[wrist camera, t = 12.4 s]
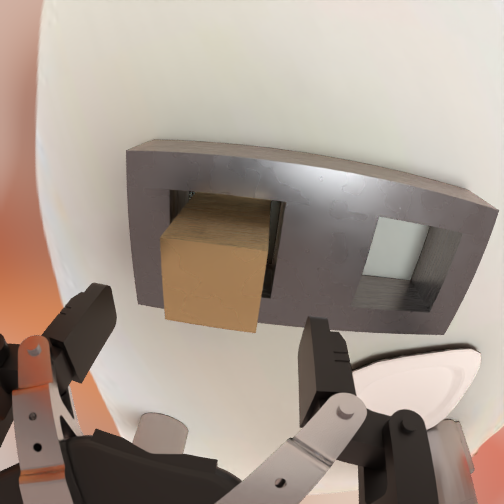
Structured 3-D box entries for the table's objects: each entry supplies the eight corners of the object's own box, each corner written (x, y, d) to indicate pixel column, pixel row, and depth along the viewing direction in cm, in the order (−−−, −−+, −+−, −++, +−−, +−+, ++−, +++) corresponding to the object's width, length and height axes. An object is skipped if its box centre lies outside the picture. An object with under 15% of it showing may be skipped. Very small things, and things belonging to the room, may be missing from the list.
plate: (316, 438, 34) (317, 448, 33) (338, 350, 26) (340, 364, 24) (435, 421, 33) (437, 430, 31) (490, 332, 24) (496, 343, 23)
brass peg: (271, 191, 19) (268, 251, 12) (263, 252, 21) (255, 333, 14) (202, 183, 19) (160, 237, 12) (200, 244, 21) (165, 319, 14)
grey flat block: (468, 190, 17) (499, 210, 14) (426, 303, 22) (444, 334, 19) (154, 139, 18) (126, 150, 14) (157, 272, 23) (138, 303, 19)
